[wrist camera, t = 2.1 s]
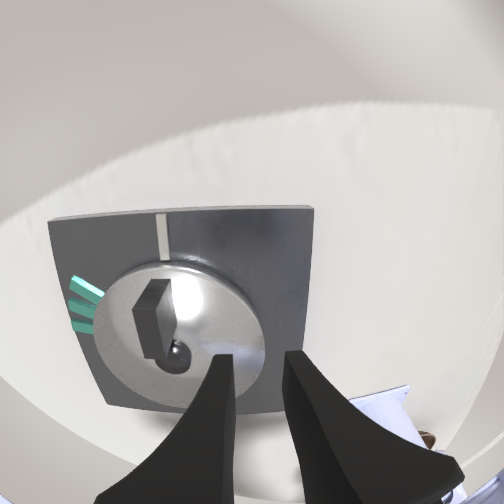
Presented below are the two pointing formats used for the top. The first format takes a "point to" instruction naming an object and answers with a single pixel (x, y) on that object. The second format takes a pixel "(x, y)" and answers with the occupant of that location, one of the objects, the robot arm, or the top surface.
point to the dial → (176, 331)
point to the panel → (200, 254)
